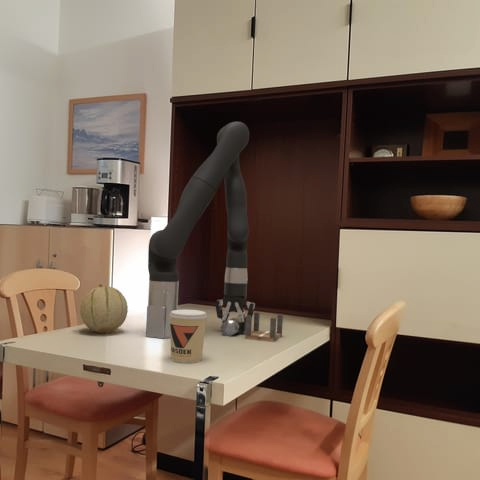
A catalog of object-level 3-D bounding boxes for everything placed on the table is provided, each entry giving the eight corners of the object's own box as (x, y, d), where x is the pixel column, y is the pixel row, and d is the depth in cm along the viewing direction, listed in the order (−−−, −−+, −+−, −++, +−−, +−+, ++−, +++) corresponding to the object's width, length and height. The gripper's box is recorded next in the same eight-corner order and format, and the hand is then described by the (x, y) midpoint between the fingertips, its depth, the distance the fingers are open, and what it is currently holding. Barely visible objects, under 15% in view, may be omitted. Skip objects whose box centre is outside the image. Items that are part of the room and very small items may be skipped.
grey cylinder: (235, 337, 156) (236, 321, 156) (220, 335, 158) (221, 319, 158) (245, 331, 166) (246, 316, 166) (231, 330, 168) (232, 315, 168)
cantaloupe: (103, 338, 144) (105, 288, 144) (68, 332, 151) (70, 284, 151) (136, 332, 157) (138, 285, 157) (103, 326, 164) (105, 282, 164)
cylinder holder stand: (273, 342, 151) (274, 318, 151) (245, 338, 154) (246, 316, 154) (282, 336, 160) (283, 314, 160) (254, 333, 164) (255, 312, 164)
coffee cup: (160, 360, 121) (163, 312, 121) (178, 353, 130) (180, 308, 130) (194, 365, 118) (197, 315, 118) (210, 357, 126) (212, 311, 127)
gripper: (211, 280, 161) (209, 332, 161) (253, 283, 156) (250, 336, 156) (220, 279, 168) (217, 328, 168) (259, 282, 163) (257, 332, 163)
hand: (233, 332), depth 162 cm, fingers closed on grey cylinder, 5 cm apart
